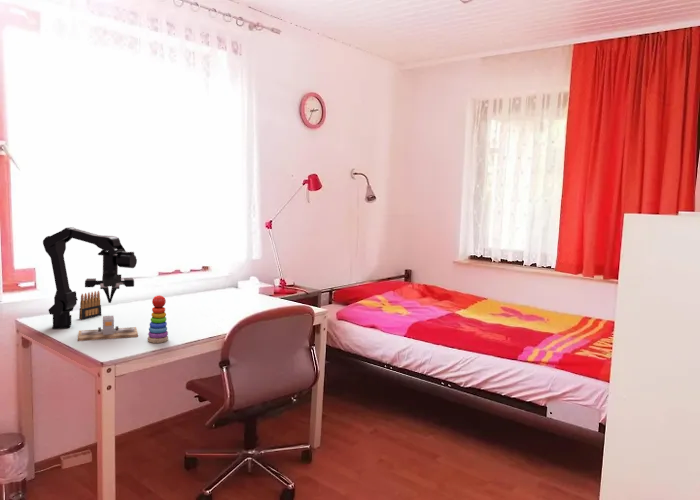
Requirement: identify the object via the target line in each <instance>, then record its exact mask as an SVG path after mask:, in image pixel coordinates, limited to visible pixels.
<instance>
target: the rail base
mask: <svg viewBox="0 0 700 500" xmlns="http://www.w3.org/2000/svg"><path fill="white" fill-rule="evenodd" d="M137 337H139V333H138V330H137V327H136V326H135V327H119V325H118V326H115V327H114V334H112V335H103V328H102V327H101V326H99V327H98V328H97V329H85V330H84V329H83V330H82V329H80V330H78V335H77V342H80V341H82V342H83V341H95V340H97V341H98V340H107V339H108V340H111V339H124V338H125V339H126V338H137Z"/></svg>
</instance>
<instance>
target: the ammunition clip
mask: <svg viewBox="0 0 700 500" xmlns="http://www.w3.org/2000/svg"><path fill="white" fill-rule="evenodd" d="M100 295H101V293H100V290H97V291H96V290H94V292H93V291H91V292H88V293H86V292H85V293H84V294H83V293H81V295H80V303H79V304H80V305H79V307H80V308H79V314H78V315H79V318H78V319H79V320H81V321H83V320H88V319H91V318H95V317H100V316H102V305H101V296H100Z"/></svg>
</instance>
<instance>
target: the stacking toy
mask: <svg viewBox="0 0 700 500" xmlns="http://www.w3.org/2000/svg"><path fill="white" fill-rule="evenodd" d="M151 302H152V306H153V307H152V309H151V311H152V313H151V318H150V322H149V327H148V334H147V335H148V336H147V339H146V340H147V341H148V342H149V343H151V344H162V343H165V342H167V341H168V340H169V331H168V327H167V326H168V325H167V313H166V308H165V305H166V302H167V301H166V298H165V297H164V296H162V295H156V296H154V297H153V298H152V300H151Z"/></svg>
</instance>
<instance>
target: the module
mask: <svg viewBox="0 0 700 500" xmlns="http://www.w3.org/2000/svg"><path fill="white" fill-rule="evenodd" d="M114 317H115V316H114V315H102V329H103V335H112V334H114V328H115V326H114V325H115V318H114Z"/></svg>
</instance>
